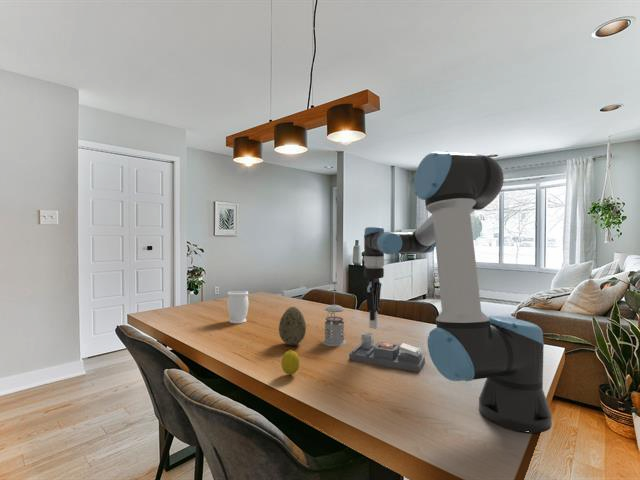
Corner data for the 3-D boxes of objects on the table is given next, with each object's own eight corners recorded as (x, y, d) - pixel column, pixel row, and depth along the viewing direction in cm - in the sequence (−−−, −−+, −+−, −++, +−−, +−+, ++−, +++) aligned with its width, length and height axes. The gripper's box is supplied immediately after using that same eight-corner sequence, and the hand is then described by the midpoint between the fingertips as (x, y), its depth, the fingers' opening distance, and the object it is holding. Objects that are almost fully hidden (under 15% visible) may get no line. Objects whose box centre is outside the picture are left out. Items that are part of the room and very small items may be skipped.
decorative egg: (311, 343, 132) (311, 306, 132) (294, 351, 123) (294, 311, 123) (290, 338, 138) (290, 303, 138) (273, 345, 129) (273, 307, 129)
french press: (326, 347, 128) (326, 283, 127) (318, 338, 139) (318, 279, 139) (349, 345, 130) (350, 282, 130) (340, 336, 142) (340, 278, 141)
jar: (225, 320, 168) (225, 291, 168) (246, 318, 173) (246, 289, 173) (229, 325, 159) (229, 294, 159) (250, 323, 163) (250, 292, 163)
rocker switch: (418, 357, 107) (419, 351, 107) (399, 349, 110) (400, 344, 110) (420, 352, 111) (421, 347, 111) (402, 346, 114) (403, 341, 114)
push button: (391, 356, 111) (391, 347, 111) (378, 354, 113) (378, 345, 113) (394, 352, 115) (394, 344, 115) (382, 350, 117) (382, 342, 117)
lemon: (290, 370, 106) (290, 345, 106) (303, 375, 102) (303, 349, 102) (277, 376, 101) (277, 350, 101) (290, 381, 98) (290, 354, 98)
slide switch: (370, 349, 118) (371, 335, 118) (361, 348, 120) (361, 334, 120) (373, 347, 121) (373, 333, 121) (364, 345, 123) (364, 332, 123)
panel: (419, 372, 104) (419, 356, 104) (349, 359, 115) (349, 345, 115) (424, 361, 113) (424, 347, 113) (359, 350, 124) (359, 337, 124)
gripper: (370, 265, 134) (369, 322, 135) (358, 268, 122) (358, 330, 123) (388, 266, 131) (387, 325, 131) (378, 269, 119) (377, 333, 120)
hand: (373, 327), depth 127 cm, fingers closed
